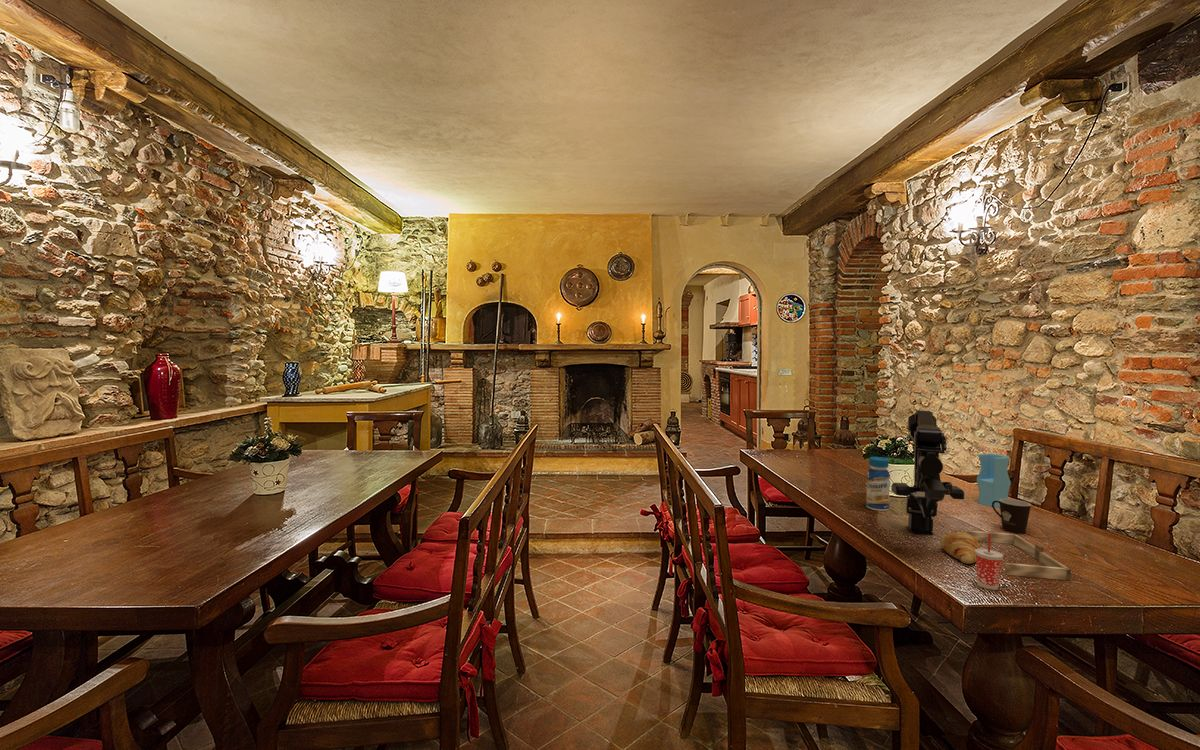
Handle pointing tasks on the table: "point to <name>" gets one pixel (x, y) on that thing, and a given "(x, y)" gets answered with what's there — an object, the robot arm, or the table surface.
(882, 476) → the beverage bottle
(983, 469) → the vase
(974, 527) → the table surface
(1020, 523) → the coffee mug
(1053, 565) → the frame
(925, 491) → the robot arm
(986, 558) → the beverage cup
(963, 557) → the croissant
